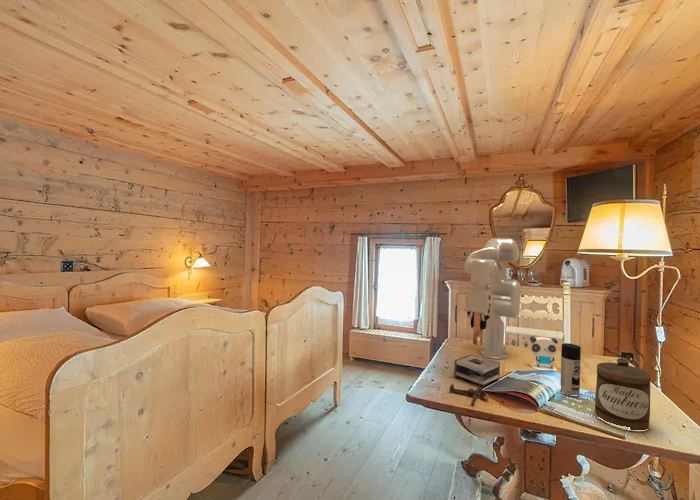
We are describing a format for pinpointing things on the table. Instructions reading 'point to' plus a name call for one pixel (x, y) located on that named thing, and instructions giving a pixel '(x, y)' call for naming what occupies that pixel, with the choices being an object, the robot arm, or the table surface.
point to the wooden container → (623, 394)
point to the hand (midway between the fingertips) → (478, 327)
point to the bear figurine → (470, 393)
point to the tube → (477, 329)
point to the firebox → (477, 369)
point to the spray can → (570, 369)
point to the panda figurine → (543, 352)
